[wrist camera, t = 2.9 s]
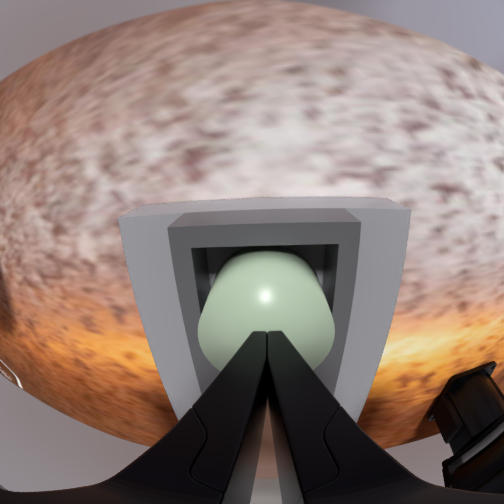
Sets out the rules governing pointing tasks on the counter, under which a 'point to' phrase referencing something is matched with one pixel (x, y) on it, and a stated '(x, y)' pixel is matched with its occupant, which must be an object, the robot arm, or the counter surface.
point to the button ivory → (266, 491)
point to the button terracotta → (267, 453)
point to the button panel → (267, 234)
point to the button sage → (266, 305)
